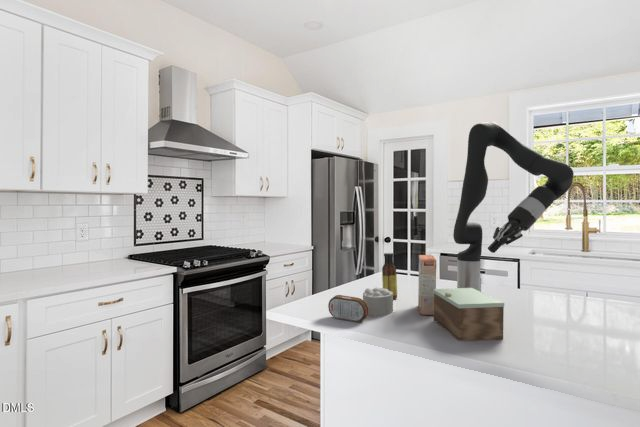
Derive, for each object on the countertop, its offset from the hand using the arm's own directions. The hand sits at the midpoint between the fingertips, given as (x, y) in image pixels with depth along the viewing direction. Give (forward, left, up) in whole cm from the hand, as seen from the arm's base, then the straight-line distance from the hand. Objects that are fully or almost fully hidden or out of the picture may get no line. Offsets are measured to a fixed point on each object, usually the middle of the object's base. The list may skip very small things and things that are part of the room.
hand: (490, 250), depth 127 cm
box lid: (+7, -4, -16) cm, 18 cm away
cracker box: (0, -26, -26) cm, 37 cm away
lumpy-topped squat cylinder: (+17, -36, -26) cm, 48 cm away
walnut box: (+7, -4, -26) cm, 27 cm away
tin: (+33, -35, -26) cm, 54 cm away
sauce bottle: (-2, -48, -26) cm, 55 cm away
